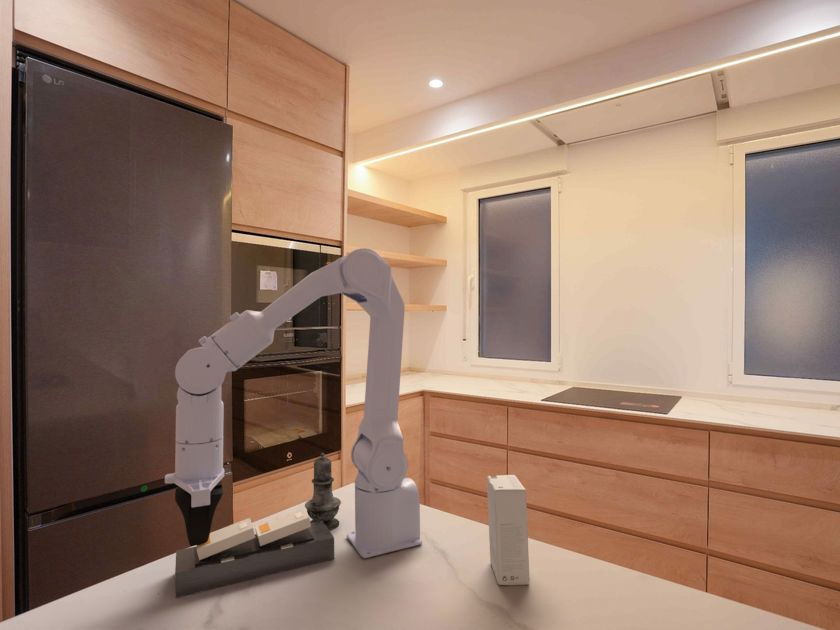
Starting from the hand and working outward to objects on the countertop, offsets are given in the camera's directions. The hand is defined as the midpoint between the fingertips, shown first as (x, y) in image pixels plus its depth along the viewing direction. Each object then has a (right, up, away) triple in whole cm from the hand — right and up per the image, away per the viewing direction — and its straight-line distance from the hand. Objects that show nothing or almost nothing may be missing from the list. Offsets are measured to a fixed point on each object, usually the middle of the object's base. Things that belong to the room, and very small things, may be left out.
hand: (198, 542), depth 62 cm
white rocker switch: (+3, 0, +1) cm, 3 cm away
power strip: (+7, -5, +3) cm, 9 cm away
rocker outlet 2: (+10, 0, +5) cm, 11 cm away
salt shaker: (+13, -5, +16) cm, 21 cm away
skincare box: (+41, -5, +1) cm, 41 cm away
